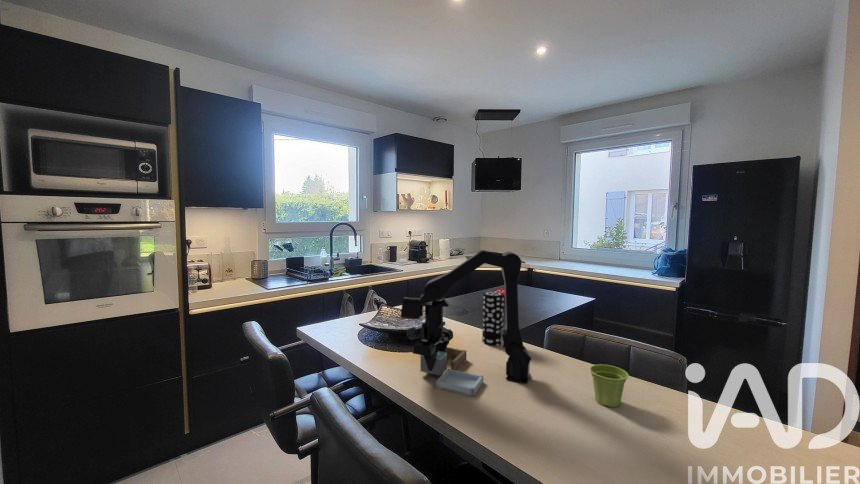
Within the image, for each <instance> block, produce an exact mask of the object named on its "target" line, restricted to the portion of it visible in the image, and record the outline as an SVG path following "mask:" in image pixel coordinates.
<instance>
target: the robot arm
mask: <svg viewBox="0 0 860 484" xmlns="http://www.w3.org/2000/svg"><path fill="white" fill-rule="evenodd" d="M483 265H491V266H494V267H498V268H500V270H501V273H502V277H503V278H502V279H503V281H504V282H503V283H504V287H503V288H504V314H505V323H504V324H505V325H504V327H503V329H500V332H501V339H500V342H501V345H500V346H501V347H502V349H504V351H505V354H506V355H507V356H508V358H507V360H506V362H505V364H506V365H505V375H506V377H505V380H507V381H512V382H517V383H522V384H528V382H529V381H530V378H531V372H530V367H531V366H530V365H531V360H532V357H531V355H530V353H529V352H528V350H527V348H526V347H525V345H524V341H523V338H522V334H521V330H520V321H519V319H520V318H519V298H518V297H519V295H518V294H519V293H518V292H519V289H518V286H519V285H518V281H519V278H520V275H521V269H522V259H521V258H520V257H519V255H518V254H517V253H515V252H512V251H504V253H502V252H501V253H500V252H496V251H489V250H485V249H480V250H478V251H477V252H476V253H475V254H473V255H471V257H469V258H468V259H466V260H465V261H463V262H461V263H460V264H459V265H457V266H456V267H454V268H453V269H451V270H450V271H448V272H446V273H443V274H440V275H438V276H436V277H433V278H432V279H429V281H428V282H427V283H426V285H425V287H424V292H423V293H422V294H421V295H420V297H409V296H404V297H403V298H402V304H401V309H400V316H401V320H420V318H422V317H423V316H424V319H425V322H424V323H423V324H422V323H421V325H418V326H417V325H416V326H412V327H408V328H407V331H406V337H408V339H410V340H411V341H413V340H416V339H420V340H419V341H418V342H416V343H414V344H413V346H412V351H411V352H412V354H413V355H417V356H418V355H419V356H421V355H423V356H424V358H425V361H426V364H427V367H428V370H430V371H432V369H433V366H434V363H435V360H436V357H437V354H438V351H442V352H445V350H446V348H447V347H448V345H449V344H450V341H451V340H452V339H453V338H454V332H453V331H452V329H451V328H449V329H448V328H444V326H446V321H444V307H445V308H448V307H449V305H450V302H449V301H448V300H447V299H446V298H445V297H443V296H444V295H445V294H446V293H447V292H448V291H449V290H450V289H451V287H453V286H454V285H455V284H456V283H457V282H459V281H460V280H462V279H463V278H465V277H466V276H468V275H469V274H471V273H473V271H475V270H477V269H478V268H479V267H481V266H483ZM442 297H443V298H442ZM441 298H442V299H441ZM424 307H425V308H424ZM446 338H447V339H448V340H446ZM422 340H426V342H425V341H422Z"/></svg>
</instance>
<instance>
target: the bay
mask: <svg viewBox="0 0 860 484" xmlns="http://www.w3.org/2000/svg"><path fill="white" fill-rule="evenodd" d="M445 352H447V359H452V361H451V363H450V365H451V366H450V369H452V370H457V371H459V369H460V367H462V365H463V364H464V363H465V362H466V361H467V350H465V349H459V348H454V347H448V346H447V348H446V350H445Z"/></svg>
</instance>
